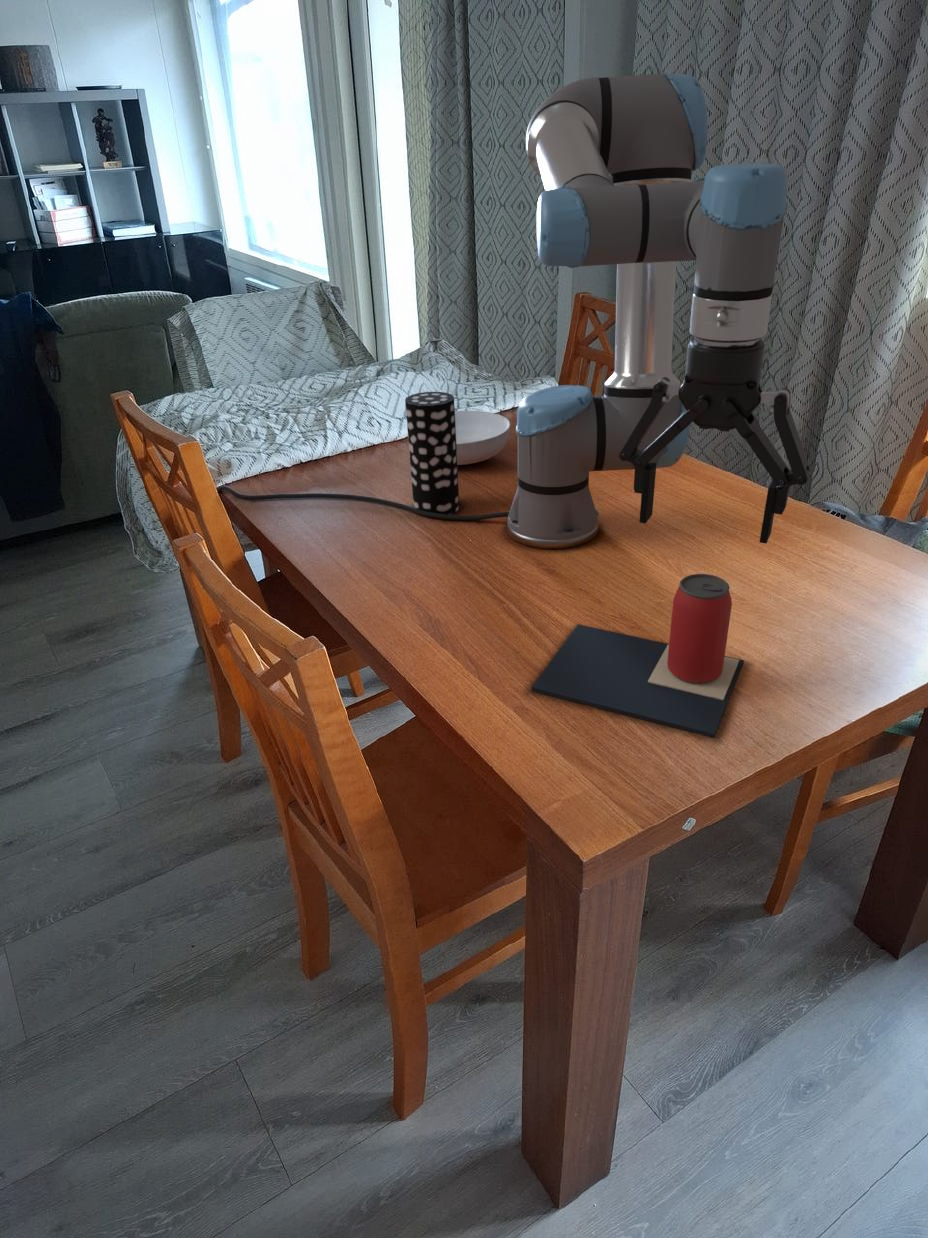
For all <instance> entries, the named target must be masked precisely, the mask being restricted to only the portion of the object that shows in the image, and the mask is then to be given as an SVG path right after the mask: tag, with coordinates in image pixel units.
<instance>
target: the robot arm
mask: <svg viewBox="0 0 928 1238" xmlns="http://www.w3.org/2000/svg"><path fill="white" fill-rule="evenodd" d="M704 94H705V93H704V91H703V88H702V86H701V83H700V82H699V81H698V79H697V78H696V77H695V76H693V75H690V74H688V73H687V74H686V73H683V74H682V73H667V72H666V71H665V72H662V73H650V74H636V75H621V76H606V77H586V78H582V79H578V80H575V81H572V82H570V83H568V84H565V85H564V86H562V87H560V88H559V89H556V91H554V92H553V93H551V94H549V96H548V97H547V98H546V99H544V100H543V101H542V103H541V104H540V105H539V106H538V107H537V108H536V109H535V111H534V113H533V115H531V118H530V120H529V123H528V125H527V129H526V133H525V149H526V154H527V158H528V161H529V163H530V165H531V168H532V169H533V171H534V172H535V173H536V174H537V175H538V177H539V178H541V182H542V185H543V188H544V190H543V191H542V192H541V193H540V195H539V196H538V200H537V205H536V244H537V257H538V259H539V261H540V263H541V264H543V265H544V266H547V267H567V268H569V269H575V268H579V267H592V266H608V265H611V266H612V265H616V290H615V291H616V293H615V294H616V297H615V299H616V300H615V333H614V334H615V337H614V338H615V339H614V340H615V341H614V344H615V345H614V371H613V373H612V375H611V376H610V377H609V378H608V379H607V380H606V381H605V382H604V386H603V387H604V389H603V390H604V391H603V395H599V396H594V394H593V393H592V390H591V389H590V388H589V387H587V386H585V385H582V384H581V385H579V384H577V385H574V384H562V385H555V386H550V387H546V388H543V389H539V390H536V391H534V392H532V393H530V394H528V395H527V396H525V397H524V398H523V399H522V400H521V401H520V402H519V404H518V407H517V415H516V426H515V433H516V435H517V488H516V490H515V491H516V492H515V494H514V496H513V500H512V503H511V506H510V509H509V511H500V512H499V511H497V512H491V513H484V514H474V515H472V514H471V515H468V514H467V515H466V514H465V515H459V514H450V515H447V514H438V513H432V512H426V511H422V510H419V509H416V508H414V506H410V505H408V504H404V503H401V502H396V501H392V500H389V499H384V498H379V497H373V496H367V495H359V494H349V493H329V492H327V493H325V492H305V493H303V492H302V493H273V494H271V493H270V494H244V493H241V492H238V491H236V490H234V489H232V488H231V487H230V486H228V485H219V486H218V487H217V488H216V489H217V491H218V493H217V494H220V493H221V492H222V491H226V492H227V493H229V494H231V495H232V496H233V497H235V498H237V499H241V500H250V501H253V500H254V501H257V500H258V501H260V500H276V499H278V500H279V499H282V500H283V499H343V500H352V501H353V500H355V501H363V502H370V503H375V504H380V505H385V506H390V507H394V508H397V509H402V510H403V511H404V510H405V511H408V512H410V513H414V514H416V515H418V516H422V517H426V516H427V517H428V518H431V519H439V520H448V521H483V520H489V519H490V520H491V519H495V518H496V519H497V518H507V521H506V522H507V523H506V525H507V529H506V530H507V534H508V536H509V537H511V539H513V540H514V541H516V542H517V543H520V544H522V545H525V546H529V547H533V548H538V549H547V550H548V549H556V550H557V549H566V548H573V547H577V546H581V545H584V544H586V543H588V542H589V541H591V540H593V539H594V538H595V537H596V536H597V534H598V532H599V518H600V515H599V512H598V510H597V509H596V508H597V507H595V503H594V500H593V497H592V493H591V490H590V486H589V485H590V472H606V471H625V470H626V471H629V470H630V471H631V470H634V475H633V476H634V477H633V491H634V493H635V494H641V496H640V511H639V523H640V524H647V523H648V521H649V520H650V519H651V517H652V516H653V509H654V498H655V488H656V487H655V485H656V477H657V476H656V474H657V469H664V468H671V467H673V466H674V465H676V464H677V463H678V462H679V461H680V459H681V458H682V456H683V455H684V452H685V450H686V447H687V443H688V442H689V441H688V439H689V437H690V431H691V425H692V424H693V423H694V425H695V426H697V427H699V429H700V430H701V429H702V430H710V429H711V430H712V429H715V430H718V431H721V432H727V433H729V432H730V431H733V430H736V431H737V433H738V434H739V435H740V437H741V438H743V439H744V440H745V441H746V443H747V444H748V445H749V447H750V449H751V450H752V452H753V453H754V454H755V455H756V456H757V458H758V460H759V461H760V463H761V465H762V466H763V467H764V469H765V470H766V471H767V473H768V475H769V476H770V478H771V481H770V483H769V486H768V488H767V493H766V500H765V504H764V505H765V506H764V512H763V518H762V525H761V531H760V536H759V543H760V544H765V545H767V543H768V541H769V539H770V536H771V534H772V529H773V523H774V517H775V515H781V516H782V514H784V512H785V509H786V507H787V504H788V499H789V492H790V488H791V486H795V485H799V486H803V485H805V484H807V483H808V480H809V478H810V476H811V472H812V469H811V467H810V464H809V460H808V458H807V455H806V451H805V449H804V447H803V444H802V441H801V437H800V434H799V431H798V429H797V426H796V423H795V420H794V418H793V414H792V412H791V395H792V394H791V390H790V389H789V388H787V387H783V388H782V387H781V389H779V391H775V390H774V391H763V389H762V388H761V375H762V369H763V361H764V354H765V347H766V344H765V342H764V340H763V338H764V337H765V336H766V335H767V334H768V327H769V321H770V313H771V308H772V307H771V305H772V301H773V300H772V299H773V289H774V285H775V284H774V283H775V276H776V272H777V271H776V270H777V265H778V258H779V251H780V246H781V238H782V231H783V226H784V218H785V217H786V214H787V211H788V210H787V208H788V202H787V194H788V182H789V174H788V171H787V169H786V168H785V167H784V166H783V165H781V164H778V163H765V162H745V163H728V164H719V165H716V166H713V167H711V168H710V169H709V170H708V171H707V172H706V174H705V177H700V178H696V179H695V180H692V174H693V173H692V171H693V172H694V171H696V170H699V169H700V168H701V167H702V166H703V164H704V162H705V159H706V153H707V146H708V137H709V135H708V134H709V132H708V131H709V129H708V128H709V126H708V125H709V124H708V110H707V103H706V98H705V95H704ZM692 261H693V262H694V261H695V271H694V284H693V292H692V300H691V309H690V321H689V328H688V329H689V333H690V336H692V338H691V339H689V341H688V343H687V350H686V361H685V371H684V380H683V382H682V383H681V380H680V379H679V378H678V377H677V376H676V375H675V374H674V372H673V370H672V359H673V358H672V357H673V339H674V337H673V336H674V320H675V319H674V317H675V315H674V314H675V298H676V296H675V295H676V274H677V262H692ZM760 405H764V407H765V408H766V410H767V412H768V413H769V414H771V415H773V420H774V424H775V428H776V430H777V433H778V436H779V438H780V441H781V444H782V447H783V450H784V452H785V455H786V458H787V461H788V464H789V466H790V468H789V466H788V465H787V464H786V462H785V461H784V459H783V458H782V455H780V454H779V452H778V451H777V449H776V447H775V445H774V444H773V443H772V441H771V440H770V439H769V437H768V436H767V434H766V433H765V431H764V430H763V429H762V427H761V426H760V423H759V419H758V418H757V417H756V415H755V414H754V411H755V410H756V409H757V408H758V407H759V406H760Z"/></svg>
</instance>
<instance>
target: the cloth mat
mask: <svg viewBox="0 0 928 1238" xmlns="http://www.w3.org/2000/svg"><path fill="white" fill-rule="evenodd" d="M668 650H669V643H667V642H662V641H657V640H653V639H649V638H643V637H639V636H634V635H631V634H630V635H629V634H626V633H621V632H616V631H611V630H606V629H601V628H598V627H592V626H587V625H583V624H576V626H575V628H574V629H573V630H572V631H571V633H570V634H569V636H568V637H567V638H566V639H565V641H564V642H563V644H562V645H561V647H560V648H559V649H558V650H557V651H556V653H555V655H554V656H553V657H552V659H551V660H550V661H549V663H548V664H547V665H546V666H545V668H544V669H543V671H542V672H541V673H540V675H539V676H538V677H537V679H536V680H535V681H534V683H533V684H532V686H531V688H530V690H531V692H534V693H539V694H542V695H546V696H550V697H554V698H557V699H561V700H565V701H569V702H573V703H576V704H581V705H585V706H589V707H593V708H596V709H600V710H603V711H604V710H605V711H608V712H612V713H616V714H619V715H623V716H627V717H631V718H634V719H639V720H643V721H647V722H650V723H655V724H659V725H662V726H666V727H671V728H674V729H678V730H682V731H686V732H690V733H693V734H698V735H702V736H704V737H710V738H713V739H715V737H716V735H717V732H718V730H719V727H720V724H721V722H722V720H723V717H724V714H725V712H726V710H727V707H728V704H729V702H730V699H731V696H732V694H733V692H734V690H735V686H736V684H737V681H738V679H739V676H740V674H741V671H742V669H743V666H744V663H745V660H744V659H740V658H736V657H732V656H727V655H725V657H724V664H723V670H722V674H721V675H720V676H719V677H718V678H717V679H715V680H713V681H711V682H706V683H690V682H686V681H683V680H681V679H678V678H677V677H675V676H674V675H673V674H672V673H671V672H670V670H669V669H668V665H667V660H668Z"/></svg>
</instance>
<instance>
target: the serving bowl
mask: <svg viewBox="0 0 928 1238" xmlns="http://www.w3.org/2000/svg"><path fill="white" fill-rule="evenodd" d="M455 426H456V446H457V466H464V465H471V464H476V463H480V462H483V461H486V460H490V459H491V458H493V457H494V456H496V455H497V454H499V453H500V452H501V451H502V450H503V449H504V447H505V446H506V445H507V443H508V440H509V437H510V433H511V422H510V420H509V419H508V418H507V417H505V416H503V415H500V414H498V413H494V412H490V411H482V410H455Z"/></svg>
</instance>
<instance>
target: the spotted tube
mask: <svg viewBox="0 0 928 1238" xmlns="http://www.w3.org/2000/svg"><path fill="white" fill-rule="evenodd" d="M404 404H405V415H406V426H407V429H406V431H407V441H408V455H409V464H410V465H409V466H410V479H411V490H412V491H411V492H412V503H413V504H412V505H413V507H414V508H416V509H419V510H422V511H426V512H432V513H438V514H447V515H454V514H455V513H456V512H458V511H459V509H460V489H459V488H460V487H459V468H458V465H457V446H456V426H455V411H456V408H455V395H453V394H451V393H449V392H444V391H423V392H417V393H413V394H410V395H408V396H407V397H405V399H404ZM425 517H427V516H425Z"/></svg>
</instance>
